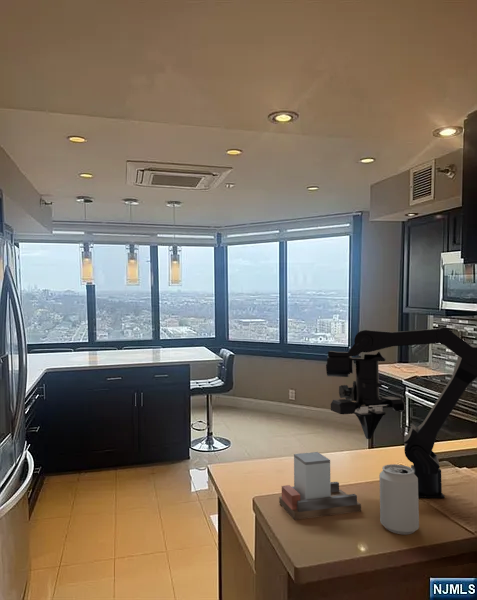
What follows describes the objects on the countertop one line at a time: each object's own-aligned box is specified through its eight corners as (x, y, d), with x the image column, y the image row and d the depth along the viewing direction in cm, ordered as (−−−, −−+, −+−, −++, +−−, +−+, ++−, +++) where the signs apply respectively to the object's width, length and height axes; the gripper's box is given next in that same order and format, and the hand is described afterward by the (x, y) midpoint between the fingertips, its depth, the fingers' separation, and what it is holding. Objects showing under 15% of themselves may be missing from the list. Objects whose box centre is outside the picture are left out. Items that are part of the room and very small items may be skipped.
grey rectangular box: (317, 493, 104) (317, 451, 104) (330, 503, 97) (330, 459, 98) (294, 496, 102) (293, 454, 102) (305, 507, 96) (305, 462, 96)
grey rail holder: (340, 495, 107) (340, 476, 107) (361, 510, 98) (360, 490, 98) (279, 503, 102) (279, 483, 102) (294, 519, 94) (294, 498, 94)
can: (422, 538, 86) (421, 475, 86) (382, 534, 87) (381, 472, 88) (415, 521, 93) (413, 463, 94) (378, 518, 94) (377, 461, 95)
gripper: (380, 373, 125) (381, 429, 124) (320, 375, 120) (321, 433, 119) (405, 378, 114) (406, 439, 113) (341, 380, 109) (342, 444, 108)
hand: (368, 438), depth 114 cm, fingers closed
